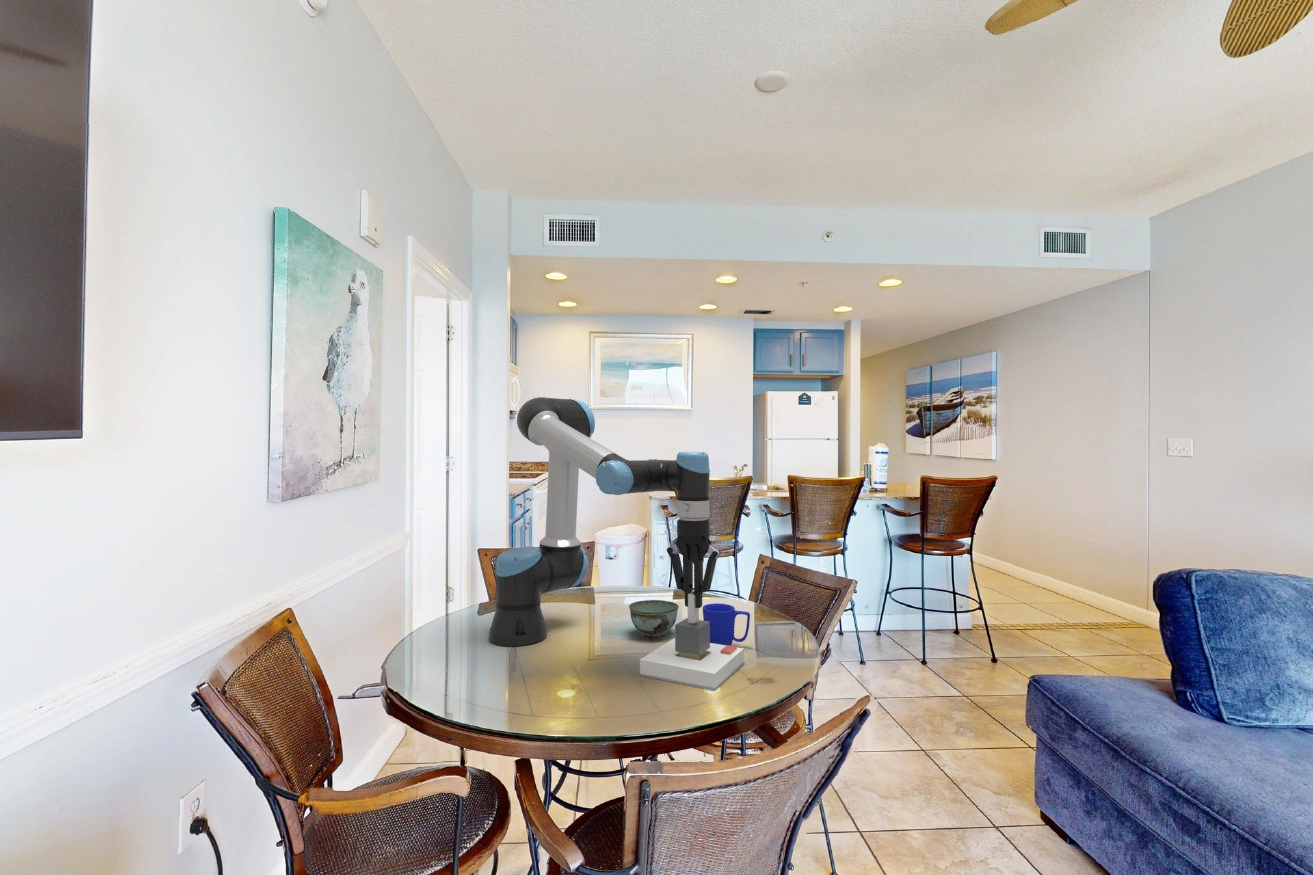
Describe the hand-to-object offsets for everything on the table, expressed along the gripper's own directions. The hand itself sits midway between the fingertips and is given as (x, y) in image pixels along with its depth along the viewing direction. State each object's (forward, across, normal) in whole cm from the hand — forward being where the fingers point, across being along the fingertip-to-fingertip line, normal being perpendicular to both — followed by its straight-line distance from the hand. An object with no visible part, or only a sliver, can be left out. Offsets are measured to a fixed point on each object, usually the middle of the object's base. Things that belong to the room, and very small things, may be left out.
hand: (693, 621), depth 138 cm
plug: (+10, 0, 0) cm, 10 cm away
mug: (+11, +1, +18) cm, 21 cm away
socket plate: (+11, 0, 0) cm, 11 cm away
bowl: (+11, -20, +18) cm, 29 cm away
